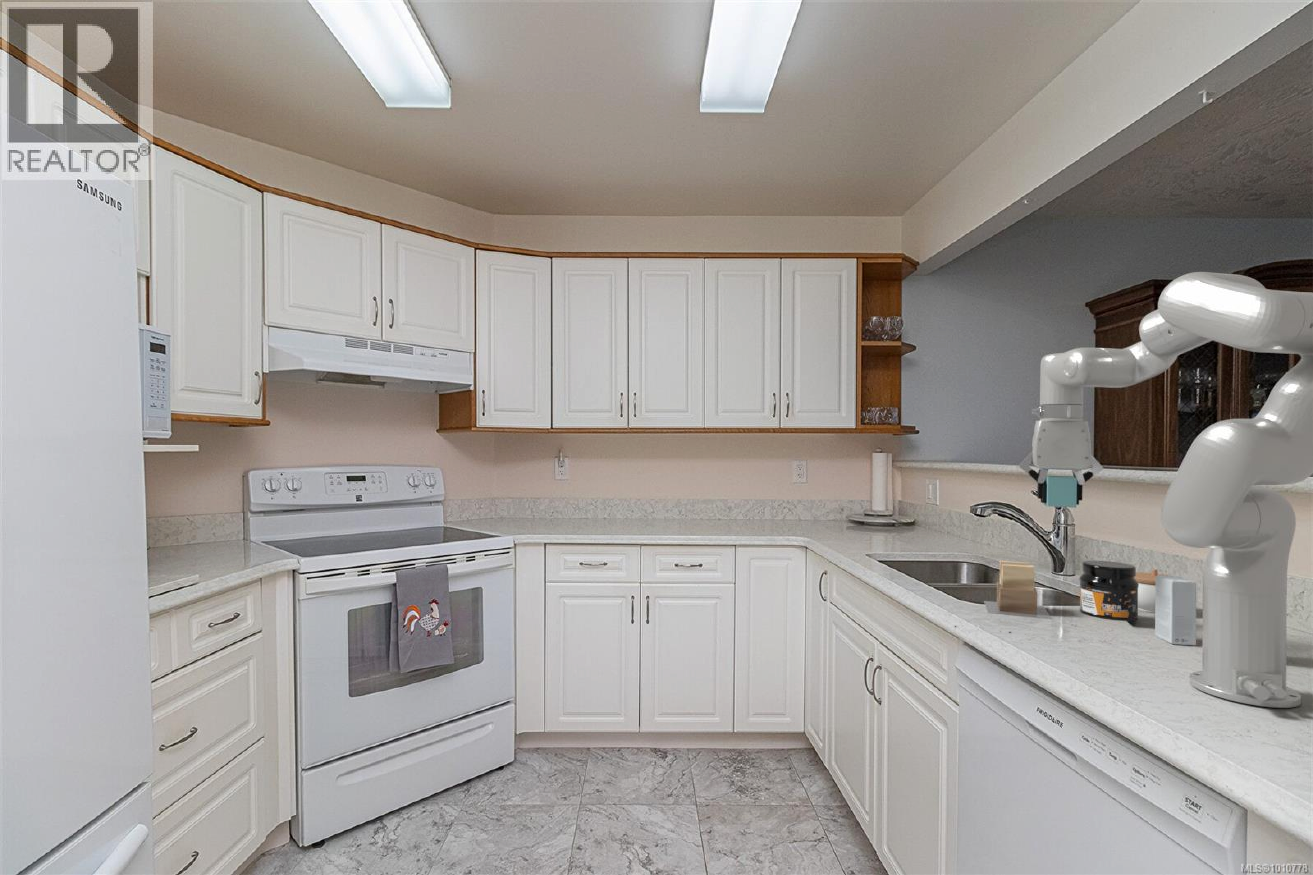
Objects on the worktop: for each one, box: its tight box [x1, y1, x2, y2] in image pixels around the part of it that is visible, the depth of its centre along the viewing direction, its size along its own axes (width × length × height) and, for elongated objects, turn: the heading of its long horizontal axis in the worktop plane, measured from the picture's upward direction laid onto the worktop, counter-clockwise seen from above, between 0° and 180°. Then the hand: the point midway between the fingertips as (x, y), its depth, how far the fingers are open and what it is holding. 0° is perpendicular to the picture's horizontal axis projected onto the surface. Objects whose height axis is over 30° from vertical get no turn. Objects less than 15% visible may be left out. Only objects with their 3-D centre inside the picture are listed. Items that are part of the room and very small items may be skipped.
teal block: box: [1042, 475, 1077, 509], centre depth 134 cm, size 5×5×6 cm
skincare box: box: [1154, 575, 1197, 646], centre depth 127 cm, size 6×4×12 cm
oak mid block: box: [999, 560, 1035, 591], centre depth 145 cm, size 6×6×5 cm
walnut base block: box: [996, 581, 1038, 615], centre depth 145 cm, size 7×7×5 cm
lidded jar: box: [1134, 568, 1171, 614], centre depth 150 cm, size 11×11×9 cm
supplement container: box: [1079, 559, 1139, 626], centre depth 142 cm, size 10×10×12 cm
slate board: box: [983, 600, 1053, 620], centre depth 145 cm, size 12×12×1 cm
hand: (1059, 502), depth 134 cm, fingers closed on teal block, 5 cm apart
